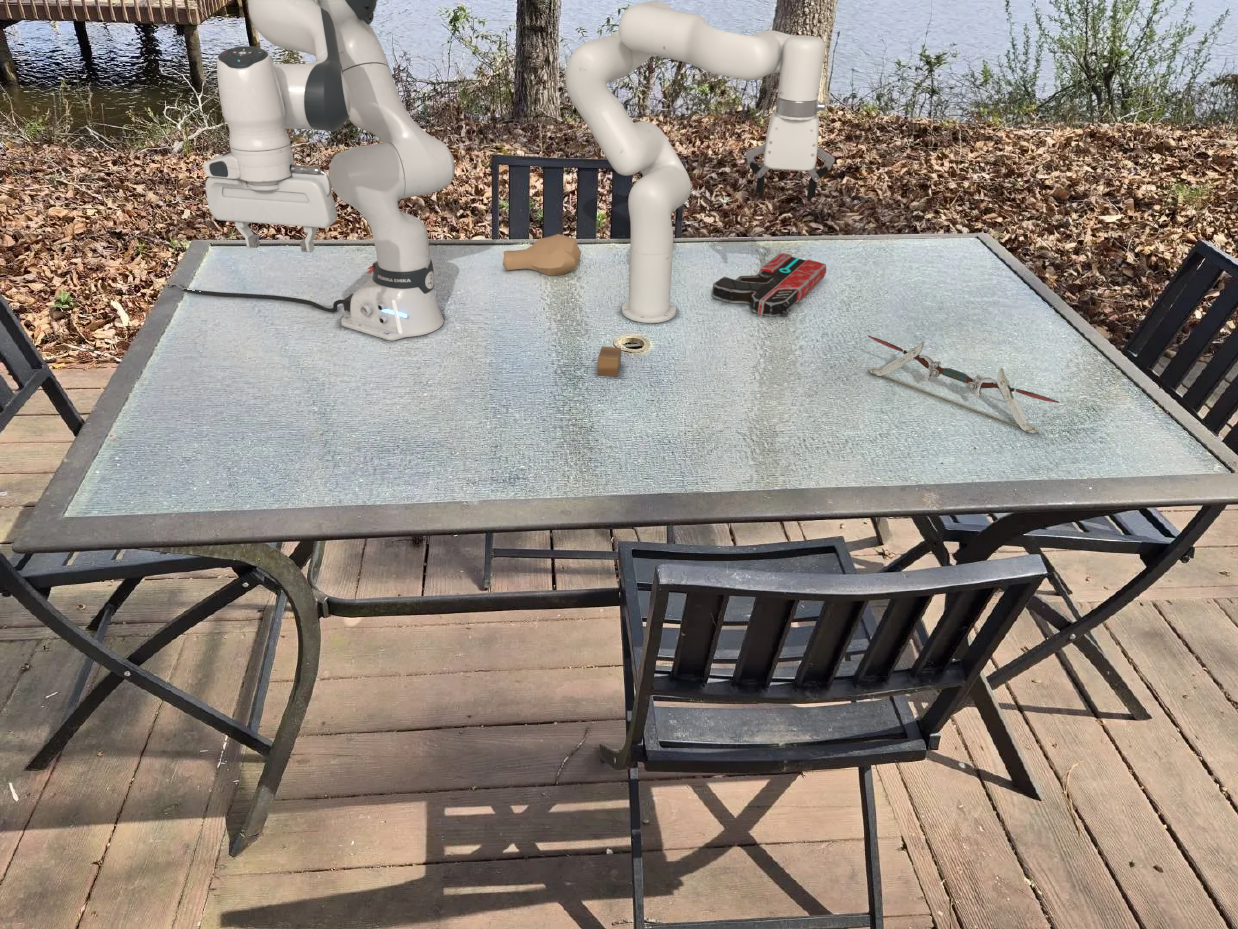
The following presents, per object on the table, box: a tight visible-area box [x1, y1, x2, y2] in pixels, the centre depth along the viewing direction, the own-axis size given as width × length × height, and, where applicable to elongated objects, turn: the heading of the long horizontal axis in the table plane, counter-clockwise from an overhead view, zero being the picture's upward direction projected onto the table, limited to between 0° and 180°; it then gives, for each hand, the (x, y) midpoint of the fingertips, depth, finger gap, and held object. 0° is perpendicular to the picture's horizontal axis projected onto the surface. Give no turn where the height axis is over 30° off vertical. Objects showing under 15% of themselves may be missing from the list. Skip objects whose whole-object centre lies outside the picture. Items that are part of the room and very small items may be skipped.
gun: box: [711, 252, 827, 318], centre depth 215 cm, size 4×31×19 cm
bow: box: [867, 334, 1060, 434], centre depth 169 cm, size 39×2×10 cm, turn 47°
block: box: [597, 345, 622, 377], centre depth 178 cm, size 5×4×4 cm
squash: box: [502, 233, 582, 276], centre depth 221 cm, size 11×20×9 cm, turn 90°
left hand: (281, 248), depth 144 cm, fingers open, 8 cm apart
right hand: (784, 197), depth 176 cm, fingers open, 9 cm apart
